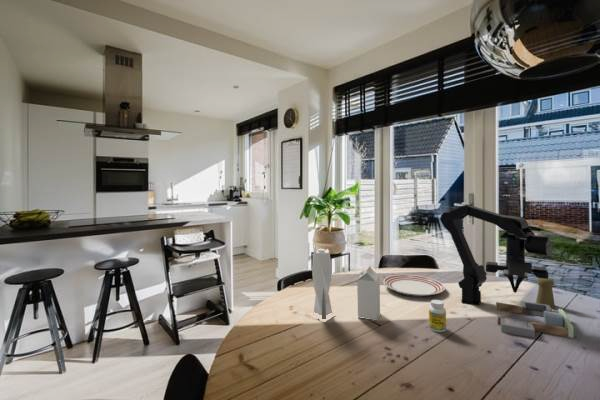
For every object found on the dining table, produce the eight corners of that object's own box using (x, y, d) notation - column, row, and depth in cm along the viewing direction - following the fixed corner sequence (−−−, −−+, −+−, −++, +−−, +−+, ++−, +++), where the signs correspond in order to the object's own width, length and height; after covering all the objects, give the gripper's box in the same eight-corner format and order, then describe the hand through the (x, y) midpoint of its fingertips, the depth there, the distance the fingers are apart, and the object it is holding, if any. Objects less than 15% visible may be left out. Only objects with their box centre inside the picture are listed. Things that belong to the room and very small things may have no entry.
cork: (558, 308, 118) (559, 280, 118) (541, 307, 120) (541, 280, 119) (549, 302, 124) (549, 276, 124) (532, 301, 125) (532, 275, 125)
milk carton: (380, 313, 118) (379, 265, 117) (376, 321, 112) (376, 270, 111) (362, 311, 121) (361, 264, 120) (357, 318, 115) (356, 269, 114)
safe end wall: (568, 336, 97) (568, 326, 97) (558, 318, 110) (558, 308, 110) (573, 337, 97) (573, 327, 96) (562, 318, 110) (562, 309, 110)
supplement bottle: (444, 326, 107) (444, 299, 106) (447, 333, 102) (447, 305, 101) (428, 324, 108) (428, 298, 108) (429, 331, 103) (429, 304, 103)
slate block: (545, 326, 104) (545, 315, 104) (543, 321, 108) (543, 310, 108) (562, 329, 102) (563, 318, 102) (560, 324, 106) (560, 313, 106)
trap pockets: (501, 331, 102) (501, 324, 102) (497, 303, 125) (498, 297, 125) (565, 343, 93) (565, 335, 93) (549, 311, 116) (549, 305, 116)
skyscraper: (307, 317, 118) (305, 246, 117) (320, 310, 124) (319, 242, 122) (324, 323, 112) (322, 248, 111) (337, 316, 118) (335, 245, 117)
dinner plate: (448, 285, 149) (448, 278, 148) (440, 305, 125) (440, 297, 125) (392, 277, 163) (392, 271, 163) (375, 293, 140) (375, 286, 140)
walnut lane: (497, 324, 107) (497, 317, 107) (496, 308, 120) (496, 302, 120) (568, 336, 97) (568, 329, 97) (558, 318, 110) (558, 311, 110)
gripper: (485, 253, 111) (485, 294, 112) (551, 258, 101) (550, 304, 102) (486, 247, 120) (485, 285, 121) (546, 251, 110) (545, 293, 111)
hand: (514, 292), depth 114 cm, fingers closed
